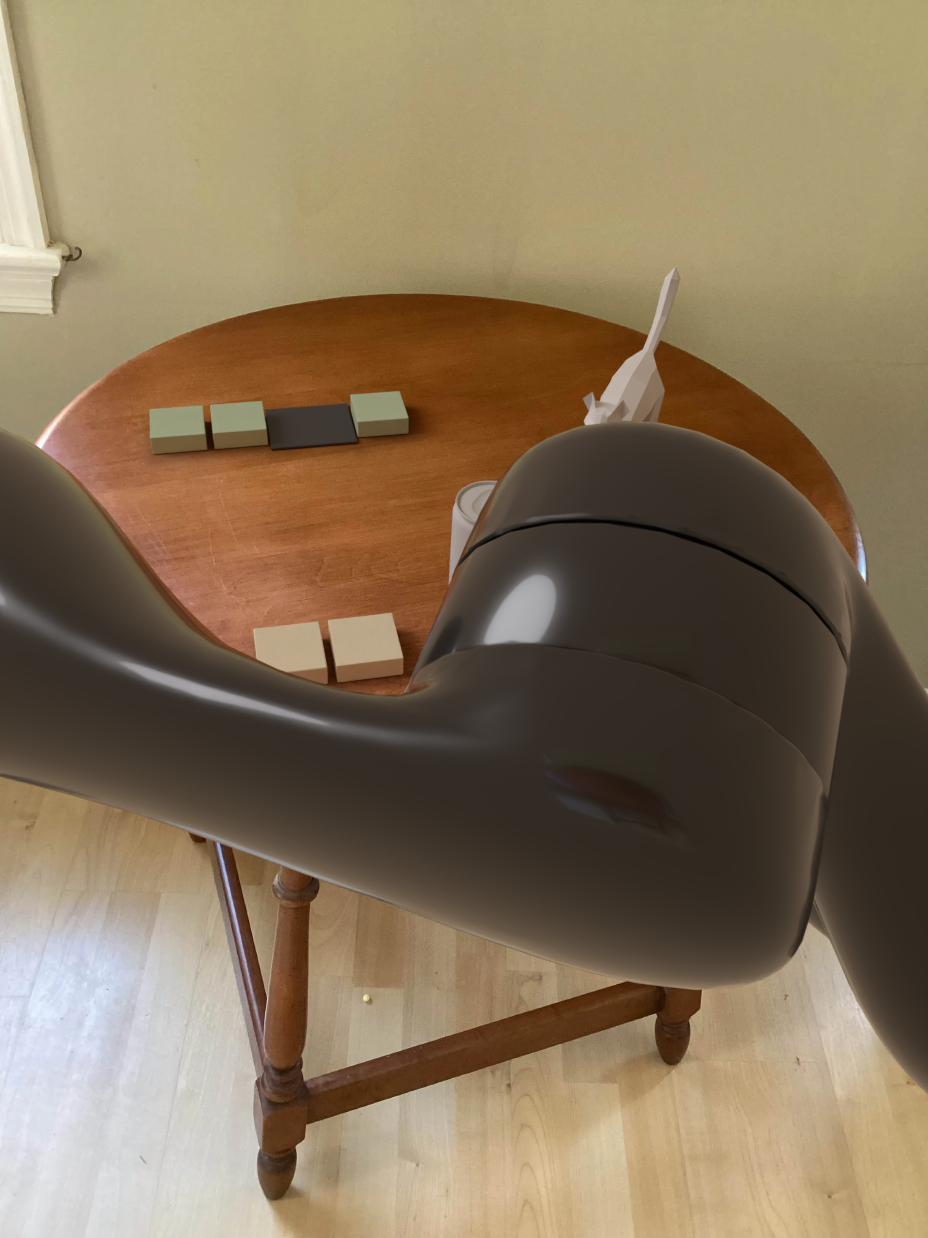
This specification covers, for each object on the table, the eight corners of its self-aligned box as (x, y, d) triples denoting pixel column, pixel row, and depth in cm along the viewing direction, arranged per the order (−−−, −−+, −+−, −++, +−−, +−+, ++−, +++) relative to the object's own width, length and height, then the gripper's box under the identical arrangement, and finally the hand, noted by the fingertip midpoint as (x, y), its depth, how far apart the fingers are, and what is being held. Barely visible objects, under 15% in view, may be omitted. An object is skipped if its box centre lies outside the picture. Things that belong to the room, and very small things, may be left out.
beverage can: (434, 653, 71) (440, 513, 63) (461, 609, 74) (470, 471, 66) (500, 675, 70) (515, 535, 62) (524, 629, 73) (542, 491, 65)
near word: (260, 692, 68) (258, 675, 67) (255, 645, 71) (253, 628, 70) (602, 649, 72) (606, 632, 71) (583, 606, 75) (586, 590, 74)
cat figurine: (552, 529, 82) (574, 369, 72) (624, 405, 95) (651, 257, 85) (606, 545, 80) (637, 385, 71) (671, 417, 94) (704, 269, 84)
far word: (152, 459, 85) (149, 443, 84) (152, 419, 90) (149, 403, 89) (410, 438, 90) (410, 422, 88) (398, 401, 94) (398, 385, 93)
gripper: (956, 709, 48) (716, 518, 58) (728, 842, 42) (503, 605, 52) (901, 807, 53) (689, 617, 63) (692, 938, 47) (493, 706, 57)
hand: (605, 612), depth 57 cm, fingers open, 8 cm apart
